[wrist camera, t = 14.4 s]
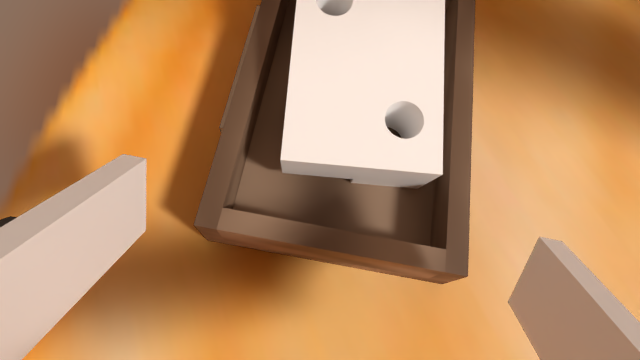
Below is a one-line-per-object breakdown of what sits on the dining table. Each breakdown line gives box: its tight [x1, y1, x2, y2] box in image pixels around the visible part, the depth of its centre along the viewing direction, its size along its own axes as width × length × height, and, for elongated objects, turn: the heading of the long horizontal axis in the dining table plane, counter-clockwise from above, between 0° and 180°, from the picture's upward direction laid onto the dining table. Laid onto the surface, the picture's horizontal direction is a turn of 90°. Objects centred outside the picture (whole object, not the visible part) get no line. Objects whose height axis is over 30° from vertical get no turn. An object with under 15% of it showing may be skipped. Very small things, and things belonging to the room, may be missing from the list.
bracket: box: [280, 0, 445, 189], centre depth 18 cm, size 13×7×8 cm, turn 176°
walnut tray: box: [194, 0, 475, 284], centre depth 21 cm, size 12×18×3 cm
